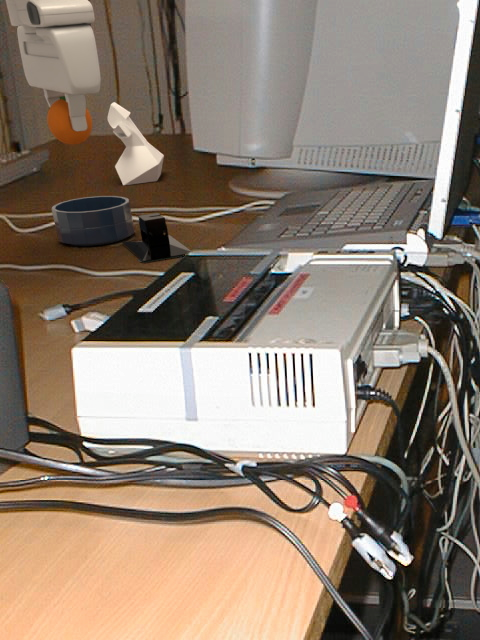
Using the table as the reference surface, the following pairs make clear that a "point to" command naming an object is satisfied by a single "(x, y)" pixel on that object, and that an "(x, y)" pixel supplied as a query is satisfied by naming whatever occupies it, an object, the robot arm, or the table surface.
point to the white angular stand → (134, 150)
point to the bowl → (93, 220)
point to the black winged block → (155, 241)
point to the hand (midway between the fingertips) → (71, 128)
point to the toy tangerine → (66, 123)
